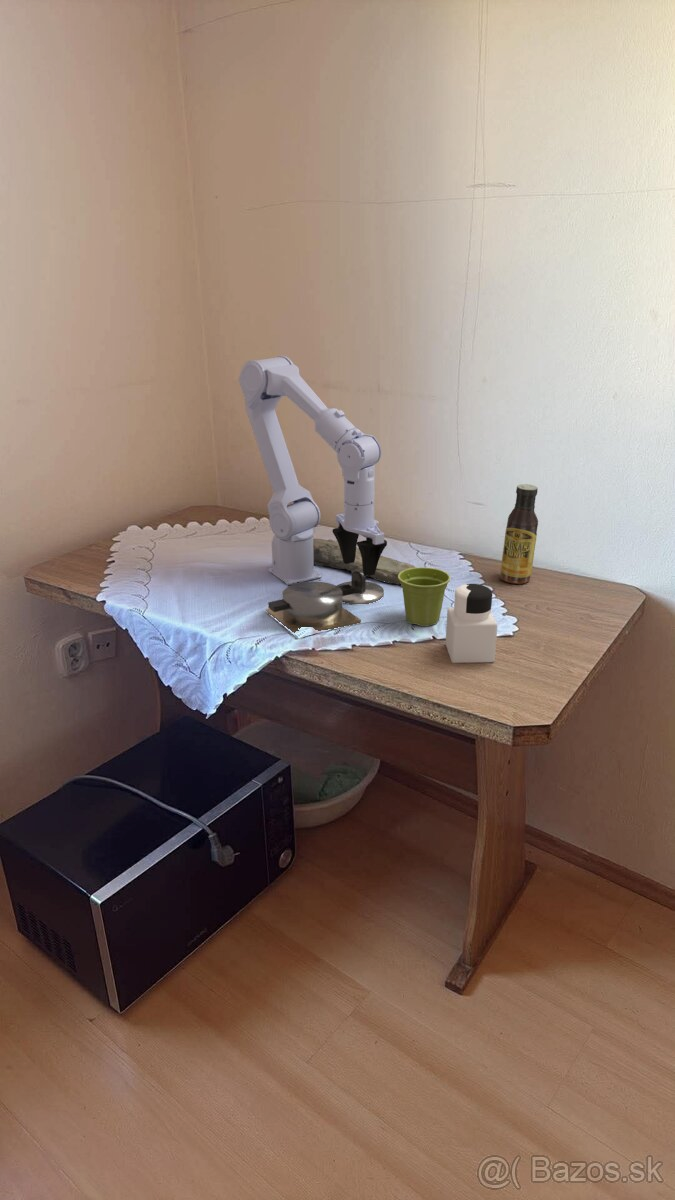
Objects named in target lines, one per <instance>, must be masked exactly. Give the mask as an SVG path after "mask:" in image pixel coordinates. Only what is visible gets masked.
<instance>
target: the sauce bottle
mask: <svg viewBox="0 0 675 1200" xmlns="http://www.w3.org/2000/svg"><path fill="white" fill-rule="evenodd" d="M538 490H539V489H538V487H537V485H534V484H528V483H522V484H518V485H517V486H516V491H515V494H516V497H515V498H516V499H515V504H514V507H513V509H512V511H511V512H510V514H509V515H508V517H507V523H506V527H505V534H504V542H503V549H502V556H501V557H502V558H501V566H500V579H501V580H502V581H504V582H505V583H509V584H516V585H523V584H527V583H528V582H529V581H530V578H531V576H532V573H533V572H532V571H533V563H534V557H535V550H536V544H537V543H536V542H537V537H538V533H537V532H538V526H539V520H538V517H537V514H536V513H535V507H536V506H535V504H536V497H537V495H538Z"/></svg>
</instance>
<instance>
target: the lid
mask: <svg viewBox="0 0 675 1200" xmlns="http://www.w3.org/2000/svg"><path fill="white" fill-rule="evenodd" d="M350 572H351V571H350ZM350 576H351V578H350V579H351V581H344V582H342V583H341V582H340V583H338V584H337V585H336V586H338V587H339V586H343V585H347V584H349V585H350V586H352V587H353V588H355V594H350V595H346V596H342V602H345V603H344V604H346V603H349V604H348V605H352V604H366V605H370V604H369V603H372V604H374V603H373V602H375V603H377V602H376V601H378V600H380V599H381V598H382V597H383V598H384V596H385V595H384V594H385V591H384V587H382V586H381V585H380V584H378V583H375V582H372V581H367V580H366V577H367V576H364V573H363V569H354V570H352V572H351V575H350ZM383 598H382V599H383ZM382 599H381V600H382ZM381 600H380V601H381ZM378 602H379V601H378Z"/></svg>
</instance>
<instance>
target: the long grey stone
mask: <svg viewBox="0 0 675 1200" xmlns="http://www.w3.org/2000/svg"><path fill="white" fill-rule="evenodd" d="M313 557H314V565H318V566H323V567H324V566H325V567H330V568H332V569H338V570H346V571H349V572H352V570H354V569H363V566H362V557H361V553H360V550H359V548H358V546H356V556H355V561H354V562H353V563H349V564H344V562H343V558H342V554H341V550H340V547H339V544H338V541H337V540H332V539H322V538H314V537H313ZM409 568H417V566H415V565H414V564H411V563H407V562H404V561H399V560H396V559H394V558H391V557H387V556H384V555H381V556H380V558H379V561H378V564H377V568H376V572H375V575H370V576H368V577H369V578H373V579H375V580H377V579H378V581H380V580H381V581H380V582H384V581H385V582H384V583H387V582H389V583H388V584H392V583H393V584H395V585H400V584H401V583H400V581H399V579H398V574H399V573H400V572H401V571H403V570H406V569H409Z"/></svg>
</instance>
